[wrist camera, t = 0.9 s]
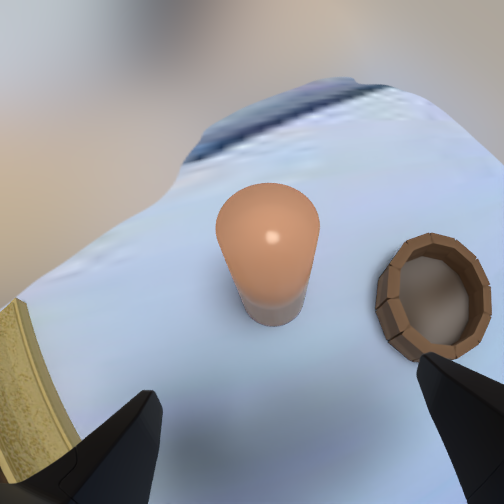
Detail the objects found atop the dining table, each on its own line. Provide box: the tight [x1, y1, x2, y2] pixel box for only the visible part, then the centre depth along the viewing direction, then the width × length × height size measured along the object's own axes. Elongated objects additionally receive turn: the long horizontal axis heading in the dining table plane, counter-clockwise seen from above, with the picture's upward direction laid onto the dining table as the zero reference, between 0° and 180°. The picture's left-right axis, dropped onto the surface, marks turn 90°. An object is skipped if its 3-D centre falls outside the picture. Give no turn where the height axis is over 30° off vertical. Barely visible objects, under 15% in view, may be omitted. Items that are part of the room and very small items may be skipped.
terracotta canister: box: [216, 183, 320, 327], centre depth 19 cm, size 5×5×11 cm
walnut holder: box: [375, 233, 492, 362], centre depth 21 cm, size 10×10×3 cm
